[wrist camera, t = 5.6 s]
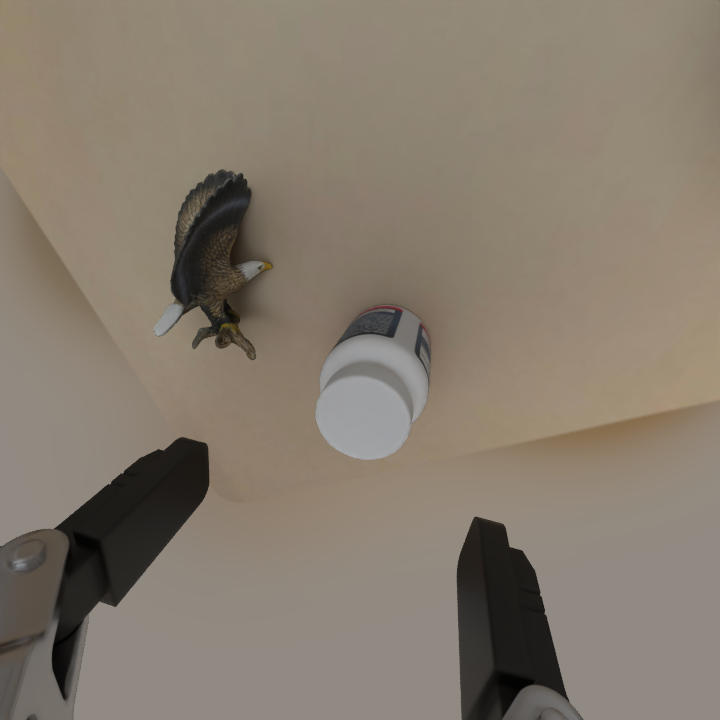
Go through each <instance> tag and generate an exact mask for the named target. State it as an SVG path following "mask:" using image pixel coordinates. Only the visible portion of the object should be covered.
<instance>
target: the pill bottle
mask: <svg viewBox="0 0 720 720" xmlns="http://www.w3.org/2000/svg"><path fill="white" fill-rule="evenodd" d="M430 360H431V342H430V337H429V334H428V331H427V329H426V327H425V326H424V324H423V323H422V322H421V320H420V319H419V318H418V317H417V316H416V315H414V314H413V313H412V312H410V311H408V310H406V309H404V308H402V307H399V306H394V305H378V306H374V307H371V308H369V309H367V310H365V311H363V312H362V313H361V314H359V315H358V316H357V317H356V318H355V319H354V321H353V322H352V323H351V324H350V326H349V327H348V329H347V330H346V331H345V333H344V334H343V336H342V337H341V338H340V340H339V341H338V342H337V344H336V345H335V346H334V348H333V349H332V350H331V352H330V353H329V355H328V357H327V358H326V360H325V362H324V364H323V367H322V369H321V373H320V381H319V384H320V393H321V394H320V396H319V398H318V401H317V404H316V422H317V425H318V428H319V430H320V432H321V434H322V435H323V437H324V438H325V439H326V441H327V442H328V443H329V444H330V445H332V446H333V447H334V448H335V449H336V450H338V451H340V452H342V453H343V454H345V455H348V456H350V457H353V458H357V459H365V460H373V459H379V458H383V457H386V456H389V455H391V454H392V453H394V452H395V451H397V450H398V449H399V448H400V447H401V446H402V445H403V444H404V442H405V441H406V439H407V437H408V435H409V432H410V428H411V424H413V423H414V422H415V421H416V420H417V418H418V417H419V416H420V414H421V413H422V411H423V409H424V407H425V404H426V401H427V397H428V392H429V380H430Z"/></svg>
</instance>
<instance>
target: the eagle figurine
mask: <svg viewBox="0 0 720 720" xmlns="http://www.w3.org/2000/svg"><path fill="white" fill-rule="evenodd" d="M250 197H251V190H250V189H249V188H247V180H246V179H243V174H242V173H240V174H238V175H237V176H236V177H235V175H234V173H233V172H231V171H229V172H228V173H226V172H225V171H224V170H219V171H218V172H217V174H216V175H213V174H209V175H208V176H207V177H206V179H205V181H204V184H202V183H201V182H200V183H198V184H197V186H196V189H192V190H191V191H190V193H189V195H187V197H186V201H185V202H184V203H183V204H182V207H181V211H179V214H178V221H177V226H176V234H175V242H174V245H175V250H174V252H175V263H174V266H173V271H172V276H171V280H170V281H171V292H172V294H173V295H174V296H175V298H176V299H175V301H174V302H173V303H171V304H170V305H169V306H168V307H167V308H166V309H165V311H164V313H163V315H162V317H161V318H160V320H159V321H158V323H157V325H156V326H155V328H154V333H155V335H156V336H163V335H165V334H166V333H167V332H168V331H169V330H170V329H171V328H172V327H173V326H174V325H175V324H176V323H177V322H178V320H179V319H180V318H181V316H182V315H184V314H185V313H187V312H188V311H190V310H191V309H193V308H195V307H197V306H200V307H201V309H202V310H203V311H204V312H205V314H206V316H208V319H209V320H210V322H211V323H212V326H211V327H207V328H200V329H199V330H198V333H197V335H196V337H195V339H194V340H193V343H192V348H193V349H195V348H196V347H197V346H198V344H199V343H200V342H201V341H202V340H203V339H205V338H208V337H212V336H216V335H217V337H216V339H215V344H216V347H217V348H220V349H222V348H225V347H227V346H229V345H230V343H234V344H236V345H238V346H239V347H241V348H242V349H243V350H244V351H245V352H246V355H247V356H248V358H250V359H251V360H255V359H256V353H255V348H254V347H253V345H252V344H251V343H250V341H248V340H247V339H246V338H244V336H243V334H242V332H241V331H240V329H239V328H238V324H239V322H240V317H239V315H238V314H237V313H236V312H235V311H234V310H232V309H231V307H230V306H229V305H228V303H227V300H226V298H225V297H226V296H227V295H228V294H231V293H233V292H235V291H236V290H238V289H239V288H241V287H243V286H244V285H245V284H246V283H247V282H248V281H249V280H251V279H252V278H253V277H254V276H256V275H257V274H259V273H260V272H262V271H263V270H266V269H271V268H272V266H271V264H269V263H266V262H261V261H248V262H245V263H242V264H239V265H234V266H231V265H230V251H231V249H232V246H233V244H234V242H235V240H236V237H237V235H238V230H239V222H240V219H241V218H242V217H243V215H244V213H245V211H246V209H247V206H248V204H249V201H250Z"/></svg>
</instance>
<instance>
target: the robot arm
mask: <svg viewBox="0 0 720 720" xmlns="http://www.w3.org/2000/svg"><path fill="white" fill-rule="evenodd" d="M208 487H209V457H208V446H207V444H206V443H203V442H199V441H195V440H192V439H188V438H184V437H181V438H178V439H177V440H175V441H174V442H173V443H172V444H171V445H170V446H169V447H168V448H166V449H165V450H164V451H163V450H159V449H158V450H156V451H154V452H152V453H150V454H148V455H146V456H144V457H141V458H139V459H138V460H137V461H136V462H135V463H133V464H132V465H131V466H130V467H128V468H127V469H126V470H125V471H124V473H123V474H120V475H119V476H118V477H116V478H115V479H114V480H113V481H112V482H111V484H110V485H109V484H108V485H107V486H105V487H104V488H103V489H102V490H101V491H99V492H98V493H97V494H96V495H95V496H93V497H92V498H91V499H90V500H89V501H87V502H86V503H85V504H84V505H83V506H81V507H80V508H79V509H78V510H76V511H75V512H74V513H73V514H72V515H70V516H69V517H68V518H67V519H66V520H64V521H63V522H62V523H61V524H59V525H58V526H57V527H56V528H54V529H42V530H36V531H32V532H29V533H26V534H23V535H21V536H19V537H16V538H15V539H13V540H11V541H9V542H8V543H6V544H5V545H3V546H0V720H73V714H74V703H75V697H76V691H77V686H78V680H79V674H80V669H81V663H82V657H83V651H84V645H85V639H86V634H87V628H88V622H89V615H88V614H89V613H90V611H91V610H92V609H93V608H94V607H95V606H96V605H97V603H98V602H99V601H100V602H103V603H106V604H108V605H111V606H114V607H116V606H117V605H118V604H119V602H120V601H121V600H122V599H123V597H124V596H125V595H126V594H127V593H128V591H129V590H130V589H131V588H132V586H133V585H134V584H135V583H136V582H137V580H138V579H139V578H140V577H141V575H142V574H143V573H144V572H145V571H146V569H147V568H148V567H149V566H150V565H151V563H152V562H153V561H154V560H155V558H156V557H157V556H158V555H159V553H160V552H161V551H162V550H163V549H164V547H165V546H166V545H167V544H168V543H169V541H170V540H171V539H172V538H173V536H174V535H175V534H176V533H177V532H178V530H179V529H180V528H181V527H182V525H183V524H184V523H185V522H186V521H187V519H188V518H189V517H190V516H191V514H192V513H193V512H194V511H195V510H196V508H197V507H198V506H199V505H200V503H201V502H202V501H203V499H204V497H205V495H206V493H207V490H208ZM457 599H458V627H459V656H460V685H461V710H462V711H461V713H462V720H583V718H582V717H581V715H580V714H579V713H578V712H577V710H576V709H575V708H574V707H573V706H572V705H571V704H570V702H569V699H568V697H567V695H566V692H565V688H564V684H563V680H562V676H561V673H560V668H559V664H558V661H557V656H556V652H555V648H554V644H553V641H552V637H551V633H550V628H549V624H548V621H547V617H546V615H545V614H544V613H545V609H544V605H543V601H542V597H541V596H540V589H539V585H538V581H537V577H536V573H535V570H534V569H533V567H532V565H531V564H530V562H529V561H528V559H527V557H526V556H525V554H524V553H523V551H522V550H518V549H515V548H511V547H509V543H508V537H507V532H506V528H505V526H504V524H501V523H498V522H494V521H490V520H487V519H483V518H479V517H474V519H473V521H472V523H471V526H470V529H469V532H468V534H467V537H466V539H465V542H464V545H463V548H462V550H461V553H460V556H459V561H458V568H457Z"/></svg>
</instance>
